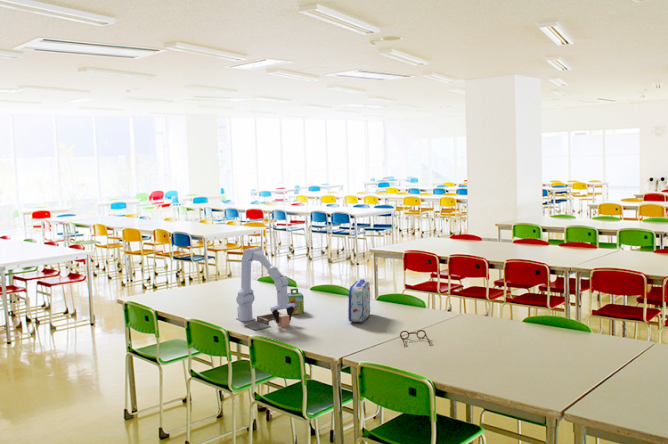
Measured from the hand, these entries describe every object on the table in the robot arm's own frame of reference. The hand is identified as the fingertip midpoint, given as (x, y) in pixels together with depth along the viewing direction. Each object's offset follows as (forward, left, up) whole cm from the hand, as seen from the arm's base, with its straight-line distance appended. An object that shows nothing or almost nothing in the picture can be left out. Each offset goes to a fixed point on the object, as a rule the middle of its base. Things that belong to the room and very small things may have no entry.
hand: (283, 321), depth 324 cm
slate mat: (-8, -12, -2) cm, 15 cm away
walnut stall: (-12, 0, -2) cm, 12 cm away
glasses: (+71, +34, -3) cm, 79 cm away
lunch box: (+17, +41, -2) cm, 44 cm away
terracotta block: (0, 0, -2) cm, 2 cm away
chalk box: (-20, +20, -2) cm, 28 cm away
